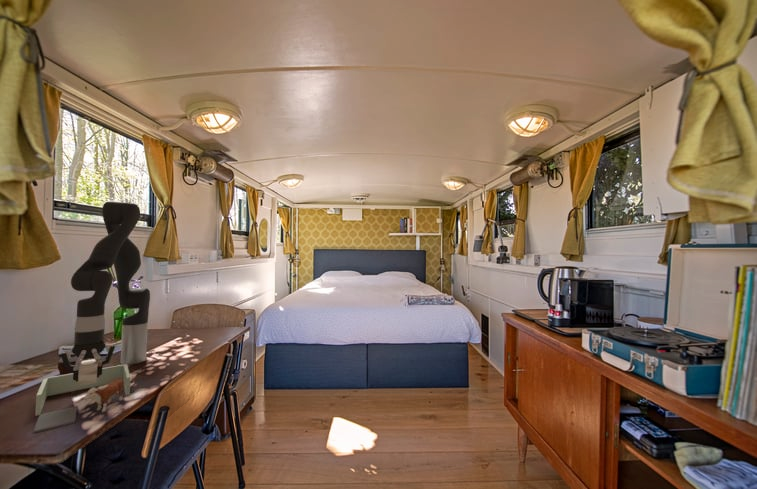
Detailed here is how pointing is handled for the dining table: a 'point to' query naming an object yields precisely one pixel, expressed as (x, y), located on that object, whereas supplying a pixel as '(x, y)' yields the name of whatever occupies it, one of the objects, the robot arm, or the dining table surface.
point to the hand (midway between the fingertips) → (87, 378)
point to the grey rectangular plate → (55, 419)
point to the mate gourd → (62, 368)
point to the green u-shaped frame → (68, 384)
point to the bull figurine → (105, 393)
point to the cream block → (87, 373)
